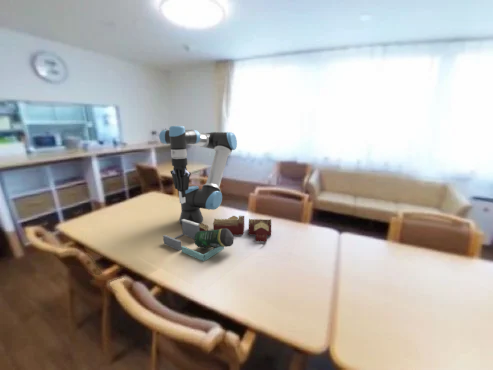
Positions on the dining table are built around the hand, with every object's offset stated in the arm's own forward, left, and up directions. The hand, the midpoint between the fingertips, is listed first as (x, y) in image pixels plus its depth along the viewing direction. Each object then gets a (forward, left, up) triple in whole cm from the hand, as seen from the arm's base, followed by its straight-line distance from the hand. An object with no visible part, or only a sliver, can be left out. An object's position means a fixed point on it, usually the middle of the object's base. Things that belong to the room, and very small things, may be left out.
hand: (182, 202), depth 124 cm
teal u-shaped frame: (0, +14, -23) cm, 27 cm away
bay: (0, -2, -23) cm, 23 cm away
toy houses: (-24, +14, -24) cm, 37 cm away
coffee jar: (0, +10, -19) cm, 21 cm away
